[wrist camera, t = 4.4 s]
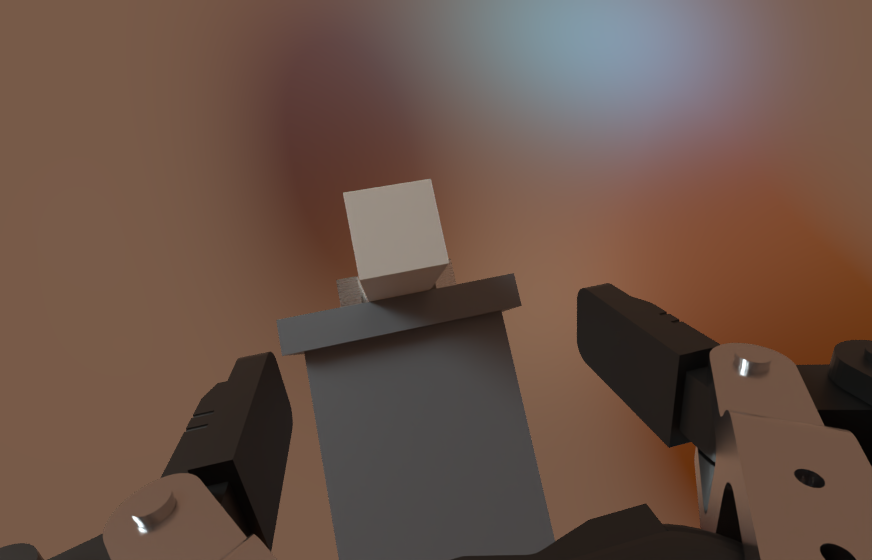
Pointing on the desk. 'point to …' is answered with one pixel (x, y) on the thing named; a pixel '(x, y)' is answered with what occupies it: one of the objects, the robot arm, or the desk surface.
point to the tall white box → (396, 238)
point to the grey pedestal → (422, 422)
